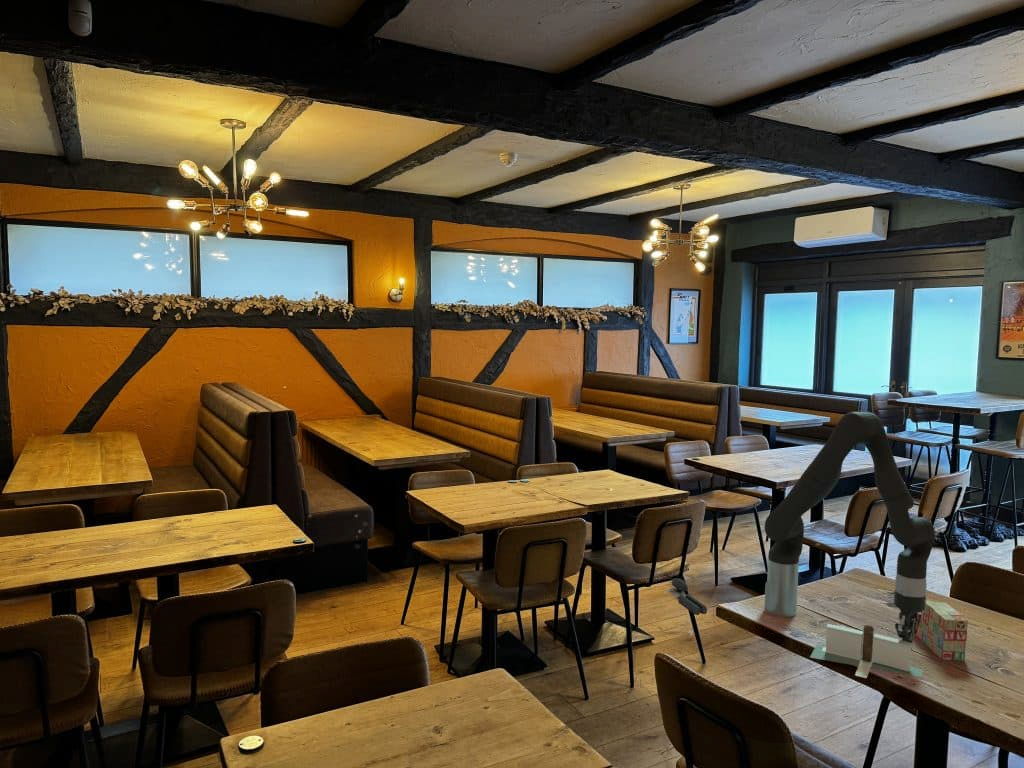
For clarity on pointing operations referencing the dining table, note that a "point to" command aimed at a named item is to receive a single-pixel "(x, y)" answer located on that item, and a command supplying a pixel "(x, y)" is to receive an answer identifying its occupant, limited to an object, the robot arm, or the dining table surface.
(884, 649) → the panel
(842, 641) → the panel
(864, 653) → the brown rounded rod
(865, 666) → the board
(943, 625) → the stack of blocks
